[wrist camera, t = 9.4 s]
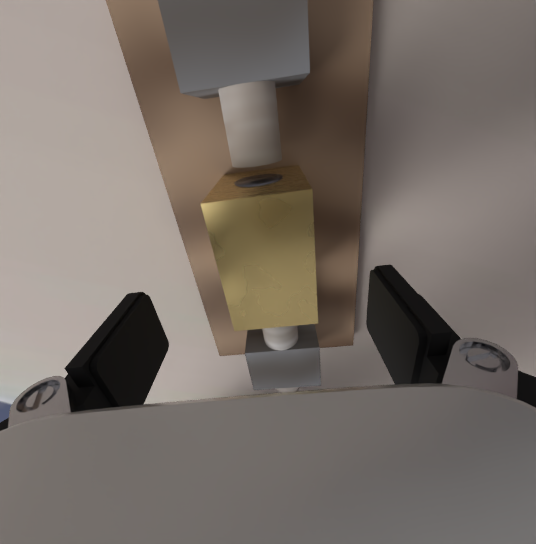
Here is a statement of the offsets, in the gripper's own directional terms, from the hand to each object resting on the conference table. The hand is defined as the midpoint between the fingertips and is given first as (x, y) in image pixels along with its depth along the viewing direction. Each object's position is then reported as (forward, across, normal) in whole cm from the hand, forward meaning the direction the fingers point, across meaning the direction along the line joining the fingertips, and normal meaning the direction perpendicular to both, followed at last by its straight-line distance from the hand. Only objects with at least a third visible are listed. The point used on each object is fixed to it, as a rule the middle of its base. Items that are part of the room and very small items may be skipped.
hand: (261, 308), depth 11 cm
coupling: (+8, 0, -1) cm, 8 cm away
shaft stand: (+9, 0, -1) cm, 9 cm away
